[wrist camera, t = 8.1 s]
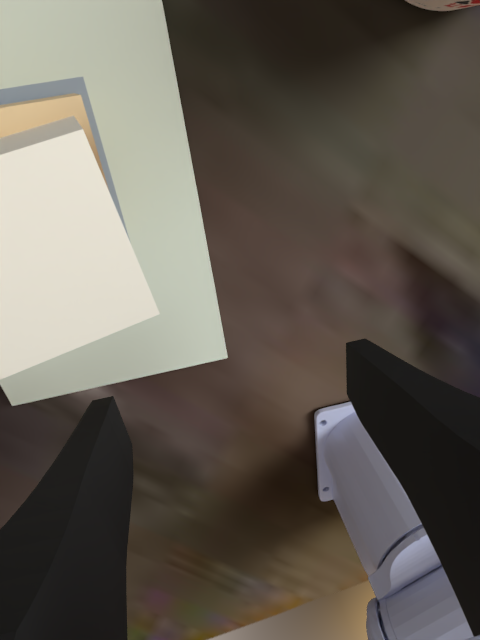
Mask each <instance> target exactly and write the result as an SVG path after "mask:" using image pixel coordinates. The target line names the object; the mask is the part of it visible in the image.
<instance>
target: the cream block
mask: <svg viewBox="0 0 480 640" xmlns="http://www.w3.org/2000/svg"><path fill="white" fill-rule="evenodd" d="M159 314H160V313H159V310H158V308H157V306H156V303H155V301H154V298H153V296H152V294H151V291H150V289H149V286H148V284H147V282H146V279H145V277H144V274H143V272H142V270H141V267H140V265H139V262H138V260H137V258H136V255H135V253H134V250H133V248H132V246H131V243H130V241H129V238H128V236H127V234H126V231H125V229H124V226H123V224H122V221H121V219H120V217H119V214H118V212H117V209H116V207H115V205H114V202H113V200H112V197H111V195H110V193H109V190H108V188H107V185H106V183H105V181H104V178H103V176H102V173H101V171H100V169H99V166H98V164H97V161H96V159H95V157H94V154H93V152H92V149H91V147H90V145H89V142H88V140H87V137H86V135H85V133H84V130H83V128H82V127H81V125H80V124H79V123H78V121H77V120H76V118H75V117H74V116H70V117H66V118H63V119H60V120H57V121H53V122H50V123H47V124H44V125H40V126H37V127H34V128H31V129H27V130H24V131H21V132H18V133H14V134H11V135H8V136H4V137H1V138H0V380H1V379H3V378H6V377H8V376H10V375H13V374H15V373H18V372H20V371H23V370H25V369H27V368H30V367H32V366H35V365H37V364H40V363H42V362H44V361H47V360H49V359H52V358H54V357H57V356H59V355H61V354H64V353H66V352H69V351H71V350H74V349H76V348H78V347H81V346H83V345H86V344H88V343H91V342H93V341H95V340H98V339H100V338H103V337H105V336H108V335H110V334H113V333H115V332H117V331H120V330H122V329H125V328H127V327H130V326H132V325H134V324H137V323H139V322H142V321H144V320H147V319H149V318H151V317H154V316H156V315H159Z"/></svg>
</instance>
